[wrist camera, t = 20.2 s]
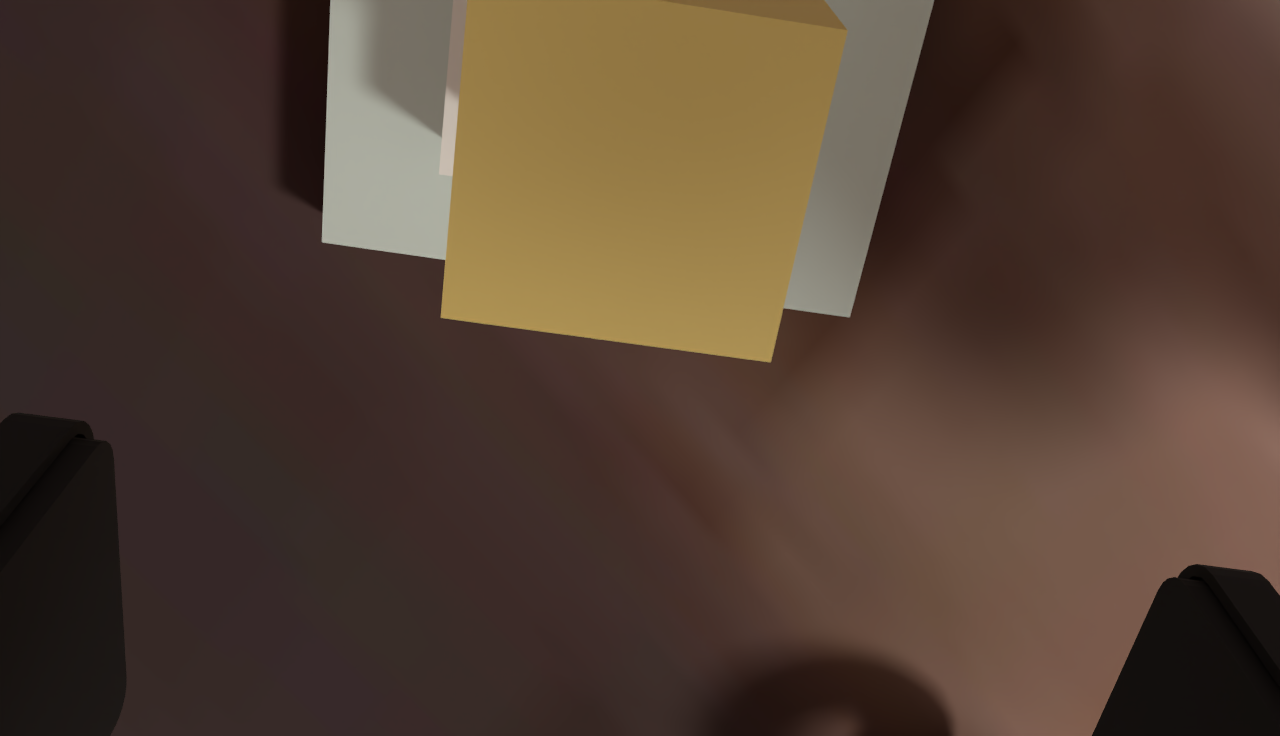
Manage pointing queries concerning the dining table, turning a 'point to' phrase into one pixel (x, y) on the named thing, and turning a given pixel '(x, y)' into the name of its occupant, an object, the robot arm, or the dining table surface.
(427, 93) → the base
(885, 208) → the dining table surface
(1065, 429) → the dining table surface
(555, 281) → the mustard block
